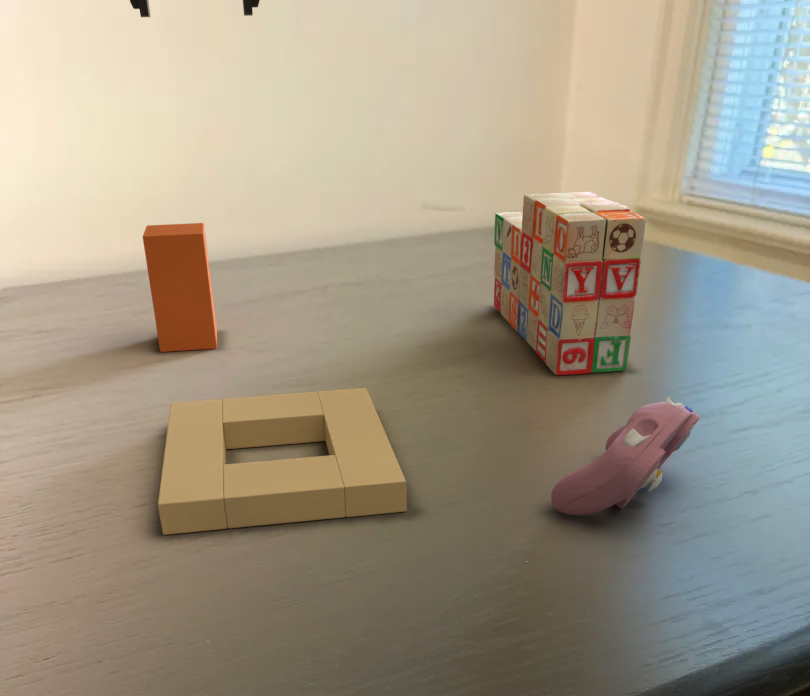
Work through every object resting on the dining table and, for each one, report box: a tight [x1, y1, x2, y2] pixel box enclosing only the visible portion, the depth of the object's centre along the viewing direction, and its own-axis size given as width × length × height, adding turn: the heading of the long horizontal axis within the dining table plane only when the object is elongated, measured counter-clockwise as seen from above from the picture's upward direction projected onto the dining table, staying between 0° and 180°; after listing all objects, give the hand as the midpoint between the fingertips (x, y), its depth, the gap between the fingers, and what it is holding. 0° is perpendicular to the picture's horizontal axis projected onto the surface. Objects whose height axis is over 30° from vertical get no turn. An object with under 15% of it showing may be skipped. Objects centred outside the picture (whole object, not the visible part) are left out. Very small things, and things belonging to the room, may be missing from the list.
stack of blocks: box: [493, 191, 647, 376], centre depth 79 cm, size 21×6×12 cm, turn 9°
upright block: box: [142, 222, 218, 353], centre depth 79 cm, size 5×5×10 cm
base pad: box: [157, 387, 408, 536], centre depth 57 cm, size 14×16×2 cm
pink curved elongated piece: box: [550, 395, 700, 516], centre depth 52 cm, size 10×5×7 cm, turn 147°
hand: (197, 16), depth 75 cm, fingers open, 8 cm apart
